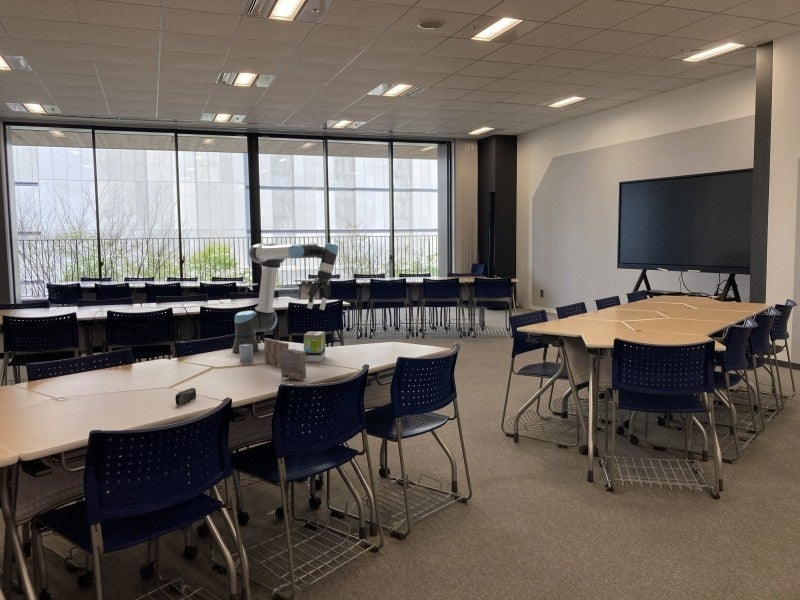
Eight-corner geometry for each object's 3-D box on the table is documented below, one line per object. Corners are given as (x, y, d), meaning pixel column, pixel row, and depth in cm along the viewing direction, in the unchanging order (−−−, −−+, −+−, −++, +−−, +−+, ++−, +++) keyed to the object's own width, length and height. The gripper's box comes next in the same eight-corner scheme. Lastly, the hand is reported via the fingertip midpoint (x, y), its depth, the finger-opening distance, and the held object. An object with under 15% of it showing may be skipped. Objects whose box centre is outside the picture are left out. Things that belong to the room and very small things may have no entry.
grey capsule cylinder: (237, 361, 341) (237, 344, 340) (249, 359, 345) (249, 343, 344) (243, 363, 335) (242, 346, 334) (255, 361, 340) (254, 345, 339)
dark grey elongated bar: (190, 387, 261) (172, 394, 246) (197, 387, 260) (179, 394, 245) (190, 398, 261) (172, 407, 246) (197, 398, 260) (179, 407, 246)
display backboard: (264, 361, 338) (263, 338, 337) (267, 361, 339) (266, 338, 338) (286, 368, 320) (285, 343, 319) (289, 368, 321) (288, 343, 320)
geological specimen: (306, 379, 293) (306, 348, 292) (298, 382, 288) (298, 350, 286) (288, 377, 298) (287, 346, 297) (280, 380, 293) (279, 348, 291)
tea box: (321, 362, 337) (321, 334, 335) (303, 362, 337) (302, 334, 336) (325, 356, 352) (325, 330, 350) (308, 356, 352) (307, 330, 351)
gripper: (320, 270, 328) (309, 309, 329) (341, 275, 351) (332, 311, 352) (308, 267, 331) (298, 305, 332) (330, 272, 354) (321, 308, 355)
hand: (315, 309), depth 342 cm, fingers open, 13 cm apart
